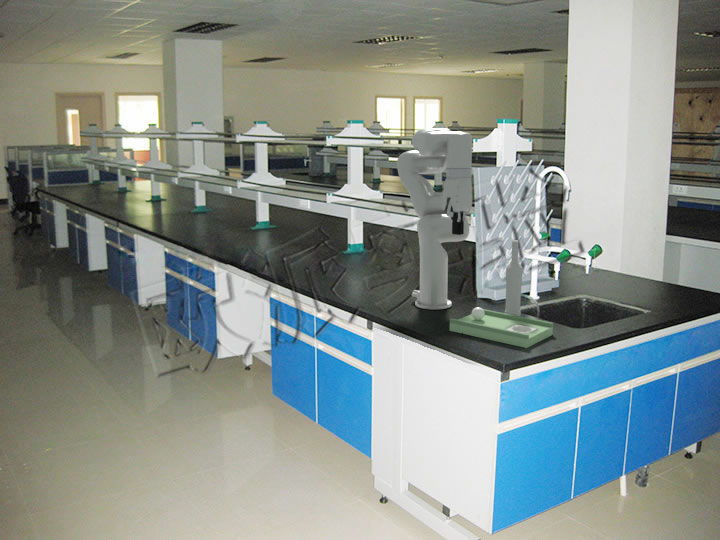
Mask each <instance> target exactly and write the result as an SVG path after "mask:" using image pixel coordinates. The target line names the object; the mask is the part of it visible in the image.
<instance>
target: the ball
mask: <svg viewBox="0 0 720 540" xmlns="http://www.w3.org/2000/svg"><path fill="white" fill-rule="evenodd" d="M483 309H484V308H482V307H480V306H479V307H474V308H473V309H472V310H471V314H472V317H473V318H474V319H475V320H481V319H483V317H484V315H485V312H484V310H483ZM471 314H470V315H471Z"/></svg>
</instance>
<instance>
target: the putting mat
mask: <svg viewBox="0 0 720 540" xmlns="http://www.w3.org/2000/svg"><path fill="white" fill-rule="evenodd" d="M482 309H483V310H484V312H485V315H484V317H483V319H481V320H475V319H474V318H473V317H472V314H469V315H466V316H463V317H461V318H459V319H457V318H449V331H450V332H455V333H459V334H462V333H463V334H464V335H468V336H473V337H477V338H481V339H485V340H489V341H493V342H498V343H502V344H503V343H504V344H508V345H512V346H517V347H519V348H520V347H521V348H525V349H527V348H529V347H531V346H533V345H536V344H537V343H539V342H541V341H543V340H545V339H547V338H549V337H551V336H553V334H554V333H553V332H554V322H552V321H551V322H550V321H547V320H542V319H540V320H539V319H536V318H530V317H525V316H521V315H520V316H516V315H511V314H506V313H505V312H499V311H495V310H489V309H485V308H482Z"/></svg>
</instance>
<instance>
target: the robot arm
mask: <svg viewBox="0 0 720 540" xmlns="http://www.w3.org/2000/svg"><path fill="white" fill-rule="evenodd" d="M411 143H412V144H411V145H412V147H413V148H414V150H407V151H405V152H402V153H401V154H400V155H399V156H398V157H397V160H396V161H397V162H396V163H397V164H396V165H397V166H396V167H397V172H398V173H397V174H398V177H399V179H400V182H401V183H402V185H403V187H404V188H405V189H406V191H407V193H408V194H409V196H410V197H409V198H410V200H411V201H410V202H411V203H412V206H413V209H414V212H415V214H416V216H417V217H418V222H417V236H418V243H419V290H417V289H414V290H413V291H412V292H411V296H412V297H414V298H416V300H415V302H414V304H415V306H416V308H420V309H423V310H433V311H435V310H445V309H449V308H451V307H452V304H453V303H452V301H451V300H449V299H448V282H449V281H448V276H449V275H448V273H449V269H448V268H449V266H448V265H449V264H448V263H449V257H448V253H447V251H446V249H445V248H444V247H443V246H442V243H451V242H453V243H454V242H455V243H456V242H463V241H465V240H467V239H468V237H469V235H470V223H469V219H468V218H467V215H468V214H469V213H470V210H471V209H472V206H473V187H472V186H473V185H472V165H473V164H472V161H473V160H472V159H473V158H472V156H473V153H472V152H473V136H472V134H471V133H469V132H463V131H452V130H451V129H449V128H444V127H443V128H421V129H418V130H417V131H416V132H414V135H413V136H412V139H411ZM444 171H446V173H445V175H446V178H445V180H444V185H443V191H442V192H441V191H440V192H436V191H435V190H434V188H433V185H432V184H431V183H430V181H429V180H428V179H426V178H425V177H424V176H423V175H433V174H441V173H444Z"/></svg>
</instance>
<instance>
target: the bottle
mask: <svg viewBox="0 0 720 540" xmlns="http://www.w3.org/2000/svg"><path fill="white" fill-rule="evenodd" d="M519 242H520V241H519V240H517V239H515V240H511V261H510V262H509V264H507V265H506V267H505V271H506V272H505V310H504V313H506V314H511V315H516V316H521V315H522V313H521V301H522V285H523V283H522V281H523V266H522V265H521V264H520V263H519Z"/></svg>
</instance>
